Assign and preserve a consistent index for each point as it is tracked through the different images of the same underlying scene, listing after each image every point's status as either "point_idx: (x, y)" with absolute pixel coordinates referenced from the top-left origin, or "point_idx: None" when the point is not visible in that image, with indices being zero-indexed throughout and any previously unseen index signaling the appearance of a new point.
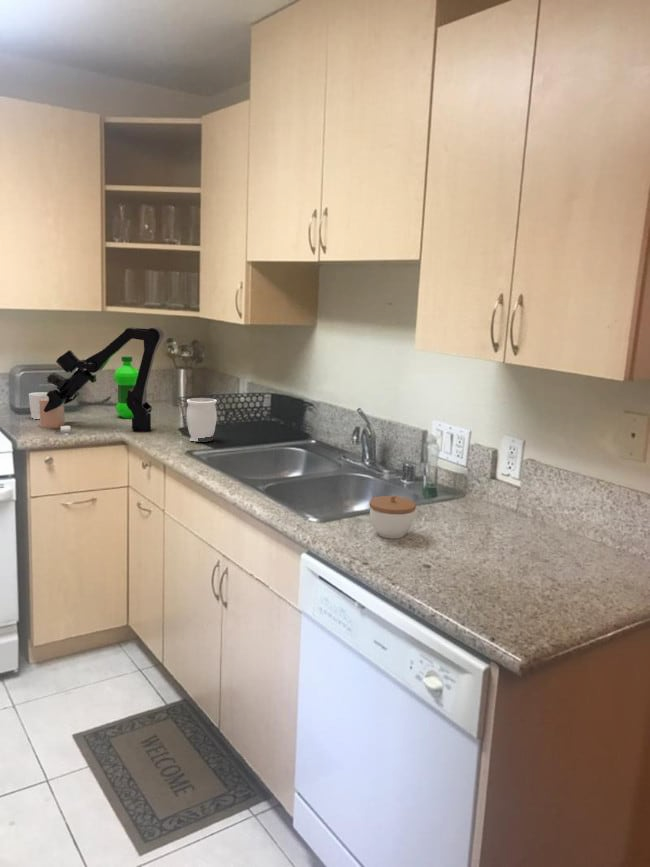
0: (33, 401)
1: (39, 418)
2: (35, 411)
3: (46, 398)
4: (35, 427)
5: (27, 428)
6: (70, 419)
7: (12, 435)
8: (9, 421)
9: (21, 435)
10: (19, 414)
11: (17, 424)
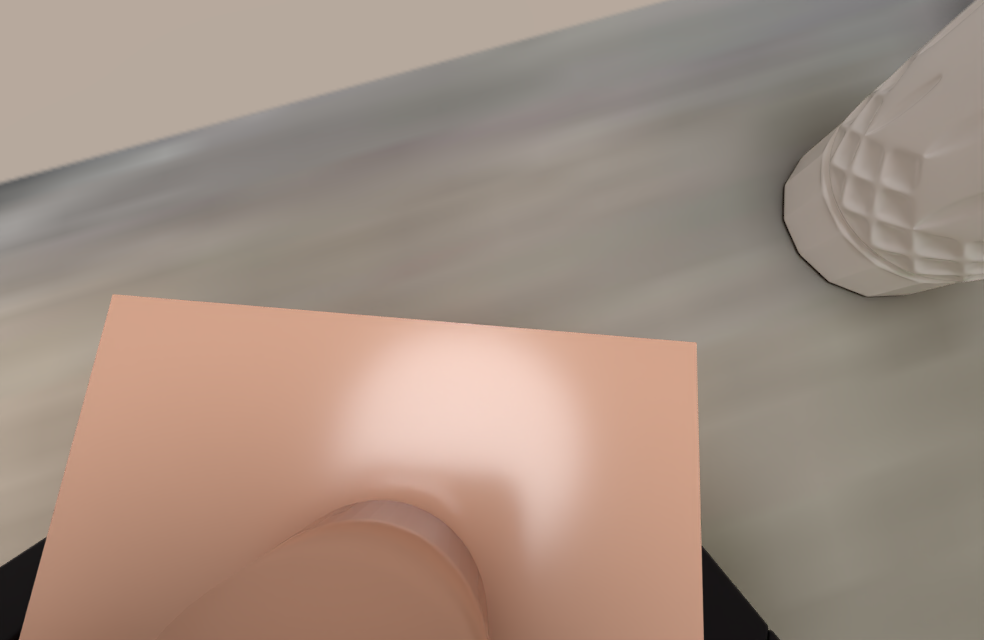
0: (972, 33)
1: (794, 226)
2: (846, 151)
3: (554, 378)
4: (410, 306)
5: (356, 248)
6: (895, 543)
7: (18, 217)
8: (655, 18)
9: (7, 296)
10: (968, 5)
11: (536, 112)
